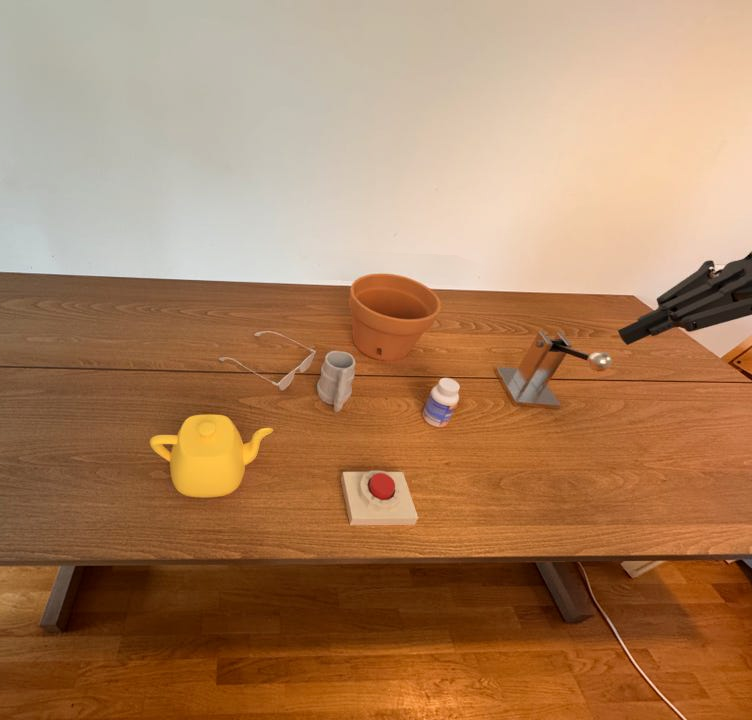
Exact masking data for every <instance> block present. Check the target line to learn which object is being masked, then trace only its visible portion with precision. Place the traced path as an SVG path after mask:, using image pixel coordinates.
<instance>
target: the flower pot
mask: <svg viewBox="0 0 752 720" xmlns="http://www.w3.org/2000/svg"><path fill="white" fill-rule="evenodd" d="M349 289H350V290H349V298H348V308H349V311H350V312H351V327H352V341H353V345H354V346H355V347H356V349H358V351H360V352H361V353H362V354H364V355H365V356H368V357H369V358H372V359H373V360H374V359H375V360H379V361H385V362H390V361H391V362H392V361H398V360H401V359H403V358H405V357H406V356H407V355H408V354H409V353H410V352H411V350H412V349H413V347H414V346H415V345H416V344H417V343H418V341H419V339H420V338H421V337H422V335H423V334H424V333H425V332H426V331H428V330H429V329H431V327H432V326H433V325H434V323H435V321H436V319H437V317H438V316H439V314H440V311H441V309H442V303H441V300H440V297H439V296H438V295H437V294H436V292H435V291H434V290H432V289H431V288H430V287H428V286H427V285H425V284H423V283H422V282H419V281H417V280H415V279H412V278H409V277H407V276H403V275H400V274H393V273H371V274H366V275H363V276H361V277H358V278H357V279H355V280H354V281H353V282H352V284H351V286H350V288H349Z"/></svg>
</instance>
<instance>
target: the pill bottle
mask: <svg viewBox="0 0 752 720" xmlns="http://www.w3.org/2000/svg"><path fill="white" fill-rule="evenodd" d="M460 387H461V386H460V384H459V382H458V381H457V380H455V379H453V378H450V377H443V378H440V379H439V381H438V383H437V385H435V386H433V387H432V388H431V391H430V394H429V396H428V399H427V401H426V404H425V406H424V409H423V410H422V418H423V419H424V421H425V422H426V423H427V424H429V425H430V426H433V427H436V428H442V427H445V426H447V425H448V423H449V422H450V421H451V418H452V416H453V413H454V412H455V408H456V407H457V405H458V403H459V400H460V395H459V391H460V390H461V388H460Z"/></svg>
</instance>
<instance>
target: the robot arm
mask: <svg viewBox="0 0 752 720" xmlns="http://www.w3.org/2000/svg"><path fill="white" fill-rule="evenodd" d="M656 302H657V306H658V307H657V308H656V309H654V310H652V311H650V312H648V313H645V314H644V315H641V316H640V317H638V318H637V321H635V322H632V323H631V324H628V325H626V326H624V327H622V328H620V329H618V330H617V333H618V334H619V337H620V339H621V340H622V342H623V343H624V344H625V345H626V346H629V345H632V344H633V343H635V342H638V341H640V340H642V339H644V338H646V337H649V336H651V337H655V336H658V335H660V334H663V333H665V332H667V331H670V330H672V329H674V328H681V329H684V330H685V332H687V333H691V332H696V331H699V330H702V329H705V328H709V327H713V326H717V325H721V324H723V323H727V322H732V321H734V320H739V319H742V318H745V317H750V316H752V250H750V252H749V253H748V254H747V255H746V256H745V257H744V258H741V259H738V260H733V261H730V262H728V263H726V264H719V263H717V264H716V263H715V262H714V260H712V259H710V260H706V261H704V262H703V263H702V264H701V265H700V267H699V268H698V269H697V270H696V271H694V272H693V273H691V274H690V275H689V276H687V277H686V278H685V279H682V280H681V281H680V282H678V283H677V284H676V285H673V287H671V288H670V289H668V290H667V291H665V292H664V293H662V294H661V295H659V296H658V297H657V298H656Z"/></svg>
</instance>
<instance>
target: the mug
mask: <svg viewBox="0 0 752 720" xmlns="http://www.w3.org/2000/svg"><path fill="white" fill-rule="evenodd" d="M355 367H356V360H355V358H354V356H353V355H352V354H351V353H349V352H347V351H341V350H331V351H329V352H327V353H326V355H325V356H324V361H323V363H322V365H321V368H320V377H319V380H318V381H317V383H316V391H317V397H319V399H320V400H321V401H322V402H323V403H325V404H327V405H331V406H333V411H334V412H335V413H339V412H340V411H341V410H342V409H343V405H344V404H345V403H347V402H348V400H349V398H351V396H352V393H353V388H352V384H353V380H354V378H355V374H356V372H355Z"/></svg>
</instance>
